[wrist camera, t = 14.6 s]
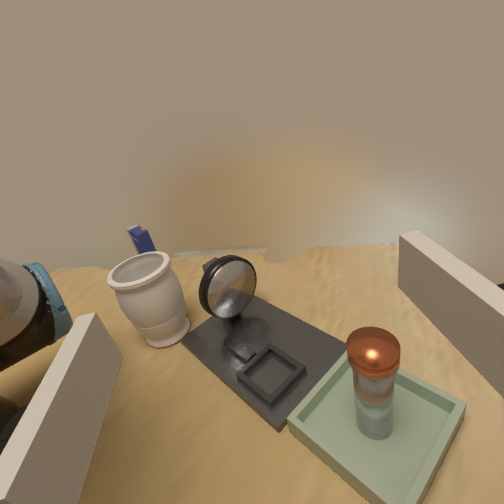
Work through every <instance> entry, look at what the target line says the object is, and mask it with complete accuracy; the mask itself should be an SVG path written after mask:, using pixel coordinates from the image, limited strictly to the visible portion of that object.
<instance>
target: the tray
mask: <svg viewBox="0 0 504 504" xmlns="http://www.w3.org/2000/svg"><path fill="white" fill-rule="evenodd" d="M466 406H467V403H466V402H464V401H462V400H460V399H458V398H456V397H454V396H453V395H451V394H449V393H447V392H445V391H443V390H441V389H439V388H437V387H435V386H433V385H431V384H429V383H427V382H425V381H423V380H422V379H420V378H418V377H416V376H414V375H412V374H410V373H408V372H406V371H404V370H402V369H400V368H399V369H398V371H397V372H396V374H395V382H394V414H393V431H392V433H391V435H390V436H389V437H387V438H386V439H383V440H373V439H370V438H368V437H366V436H365V435H364V434H363V433H362V432H361V431H360V430H359V428H358V426H357V423H356V411H355V397H354V383H353V370H352V368H351V367H350V365H349V363H348V358H347V350H346V352H345V353H344V354H343V355H342V356H341V357H340V358H339V359H338V361H337V362H336V363H335V364H334V365H333V366H332V367H331V368H330V370H329V371H328V372H327V373H326V374H325V375H324V376H323V377H322V379H321V380H320V381H319V382H318V383H317V384H316V385H315V386H314V388H313V389H312V390H311V391H310V392H309V393H308V394H307V395H306V397H305V398H304V399H303V400H302V401H301V402H300V403H299V404H298V406H297V407H296V408H295V409H294V410H293V411H292V412H291V413H290V415H289V416H288V417H287V422H288V426H289V429H290V432H291V433H292V434H293V435H294V436H295V437H296V438H297V439H299V440H300V441H301V442H302V443H303V444H304V445H305V446H306V447H308V448H309V449H310V450H311V451H312V452H313V453H314V454H315V455H317V456H318V457H319V458H320V459H321V460H322V461H323V462H324V463H326V464H327V465H328V466H329V467H330V468H331V469H332V470H334V471H335V472H336V473H337V474H338V475H339V476H340V477H341V478H343V479H344V480H345V481H346V482H347V483H348V484H349V485H350V486H352V487H353V488H354V489H355V490H356V491H357V492H358V493H359V494H361V495H362V496H363V497H364V498H365V499H366V500H367V501H368V502H370V503H371V504H422V502H423V500H424V498H425V496H426V494H427V491H428V489H429V487H430V485H431V483H432V481H433V479H434V477H435V475H436V473H437V471H438V469H439V467H440V465H441V463H442V461H443V459H444V457H445V455H446V453H447V451H448V449H449V447H450V445H451V443H452V441H453V439H454V437H455V435H456V433H457V431H458V429H459V427H460V425H461V423H462V421H463V419H464V415H465V410H466Z"/></svg>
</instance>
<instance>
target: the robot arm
mask: <svg viewBox="0 0 504 504" xmlns="http://www.w3.org/2000/svg"><path fill="white" fill-rule="evenodd" d="M398 287H399V288H400V289H401V290H402V291H403V292H404V293H405V295H406V296H407V297H408V298H409V299H410V300H411V301H412V302H413V303H414V304H415V305H416V306H417V307H418V308H419V309H420V310H421V311H422V313H423V314H424V315H425V316H426V317H427V318H428V319H429V320H430V321H431V322H432V323H433V324H434V325H435V326H436V327H437V328H438V329H439V331H440V332H441V333H442V334H443V335H444V336H445V337H446V338H447V339H448V340H449V341H450V342H451V343H452V344H453V345H454V346H455V347H456V349H457V350H458V351H459V352H460V353H461V354H462V355H463V356H464V357H465V358H466V359H467V360H468V361H469V362H470V363H471V364H472V365H473V367H474V368H475V369H476V370H477V371H478V372H479V373H480V374H481V375H482V376H483V377H484V378H485V379H486V380H487V381H488V382H489V383H490V385H491V386H492V387H493V388H494V389H495V390H496V391H497V392H498V393H499V394H500V395H501V396H502V397H503V398H504V283H503V284H499V285H495V284H494V283H492V282H491V281H489V280H488V279H486V278H485V277H484V276H482V275H481V274H479V273H478V272H476V271H475V270H474V269H472V268H471V267H469V266H468V265H466V264H465V263H463V262H462V261H460V260H459V259H458V258H456V257H455V256H453V255H452V254H450V253H449V252H448V251H446V250H445V249H443V248H442V247H440V246H439V245H438V244H436V243H435V242H433V241H431V240H430V239H429V238H427V237H426V236H424V235H423V234H421V233H420V232H419V231H417V230H416V231H412V232H408V233H404V234H400V235H399V267H398ZM66 334H68V335H67V337H66V339H65V340H64V342H63V344H62V346H61V348H60V349H59V351H58V353H57V355H56V356H55V358H54V360H53V362H52V364H51V365H50V367H49V369H48V371H47V373H46V374H45V376H44V378H43V380H42V382H41V383H40V385H39V387H38V389H37V391H36V392H35V394H34V396H33V398H32V400H31V401H30V403H29V405H28V406H27V407H23V408H19V407H18V406H17V405H16V404H15V403H14V402H13V401H11V400H9V399H6V398H3V397H0V504H78V502H79V499H80V495H81V492H82V489H83V486H84V482H85V479H86V476H87V473H88V469H89V466H90V463H91V460H92V456H93V453H94V450H95V447H96V443H97V440H98V437H99V434H100V430H101V427H102V424H103V421H104V417H105V414H106V411H107V408H108V404H109V401H110V398H111V395H112V391H113V388H114V385H115V382H116V378H117V375H118V372H119V369H120V365H121V362H122V359H123V356H122V354H121V352H120V351H119V349H118V348H117V346H116V344H115V343H114V341H113V339H112V338H111V336H110V335H109V333H108V331H107V330H106V328H105V326H104V325H103V323H102V322H101V320H100V318H99V317H98V315H97V313H96V312H94V313H90V314H86V315H82V316H78V317H77V319H76V321H75V322H74V324H73V322H72V319H71V316H70V314H69V312H68V310H67V308H66V306H65V305H64V302H63V300H62V298H61V296H60V294H59V292H58V290H57V288H56V287H55V285H54V283H53V281H52V279H51V278H50V276H49V274H48V273H47V271H46V270H45V268H44V267H43V266H42V265H41V264H40V263H38V262H33V263H30V264H24V265H22V266H20V265H19V264H16V263H14V262H10V261H6V260H1V259H0V372H1V371H3V370H5V369H7V368H8V367H10V366H12V365H14V364H16V363H17V362H19V361H21V360H23V359H24V358H26V357H28V356H30V355H32V354H33V353H35V352H37V351H39V350H41V349H42V348H44V347H46V346H48V345H52V344H54V343H55V342H56V341H57V340H58V339H60V338H61V337H63V336H65V335H66Z"/></svg>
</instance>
